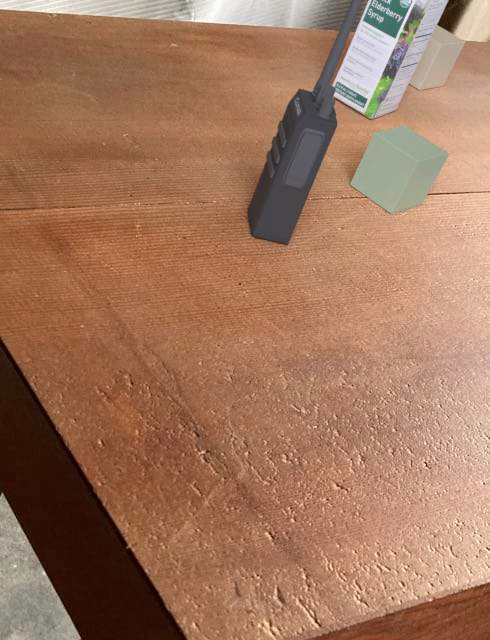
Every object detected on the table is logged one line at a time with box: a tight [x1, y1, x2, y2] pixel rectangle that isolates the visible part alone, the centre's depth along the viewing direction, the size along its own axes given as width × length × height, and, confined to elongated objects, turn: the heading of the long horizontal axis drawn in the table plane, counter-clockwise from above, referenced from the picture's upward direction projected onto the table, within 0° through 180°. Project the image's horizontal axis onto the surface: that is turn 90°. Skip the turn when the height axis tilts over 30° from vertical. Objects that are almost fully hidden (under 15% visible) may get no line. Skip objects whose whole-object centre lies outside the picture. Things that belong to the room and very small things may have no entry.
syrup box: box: [331, 0, 449, 120], centre depth 97 cm, size 6×6×14 cm
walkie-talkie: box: [247, 0, 363, 246], centre depth 72 cm, size 5×3×20 cm
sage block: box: [349, 125, 450, 215], centre depth 87 cm, size 5×5×5 cm
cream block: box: [408, 24, 466, 91], centre depth 110 cm, size 5×5×5 cm
